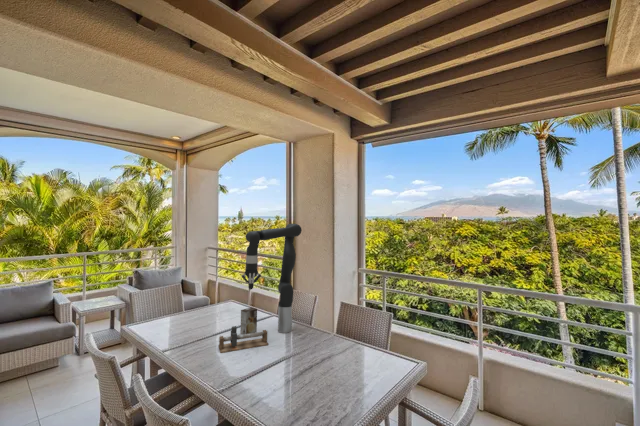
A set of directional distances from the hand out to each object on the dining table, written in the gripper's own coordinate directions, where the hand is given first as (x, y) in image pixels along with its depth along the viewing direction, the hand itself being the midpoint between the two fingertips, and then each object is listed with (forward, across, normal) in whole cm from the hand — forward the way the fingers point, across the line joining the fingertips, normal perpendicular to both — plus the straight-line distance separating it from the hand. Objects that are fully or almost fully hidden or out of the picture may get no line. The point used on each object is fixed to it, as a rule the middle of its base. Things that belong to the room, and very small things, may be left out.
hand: (250, 289), depth 183 cm
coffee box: (+32, -2, -11) cm, 34 cm away
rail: (+32, +5, +8) cm, 33 cm away
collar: (+30, +11, +8) cm, 33 cm away
